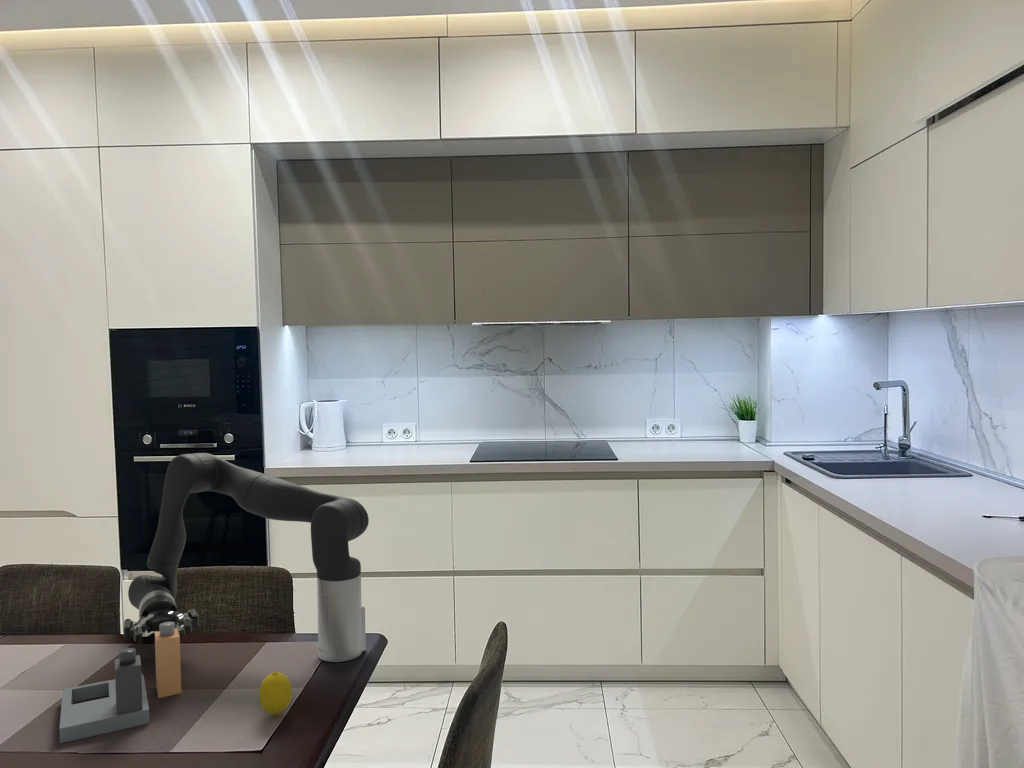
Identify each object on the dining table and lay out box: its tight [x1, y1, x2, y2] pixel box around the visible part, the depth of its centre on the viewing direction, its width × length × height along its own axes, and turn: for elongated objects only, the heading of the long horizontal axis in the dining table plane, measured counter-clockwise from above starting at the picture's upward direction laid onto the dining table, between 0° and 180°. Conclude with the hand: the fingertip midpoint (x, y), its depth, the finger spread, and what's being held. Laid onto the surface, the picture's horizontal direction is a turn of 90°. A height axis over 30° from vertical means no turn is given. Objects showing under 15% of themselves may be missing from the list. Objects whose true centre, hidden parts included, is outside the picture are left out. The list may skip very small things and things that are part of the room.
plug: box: [154, 622, 182, 699], centre depth 144 cm, size 4×5×13 cm
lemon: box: [258, 670, 293, 717], centre depth 134 cm, size 6×6×8 cm
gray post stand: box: [58, 647, 150, 744], centre depth 135 cm, size 14×17×12 cm
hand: (164, 634), depth 152 cm, fingers open, 8 cm apart
